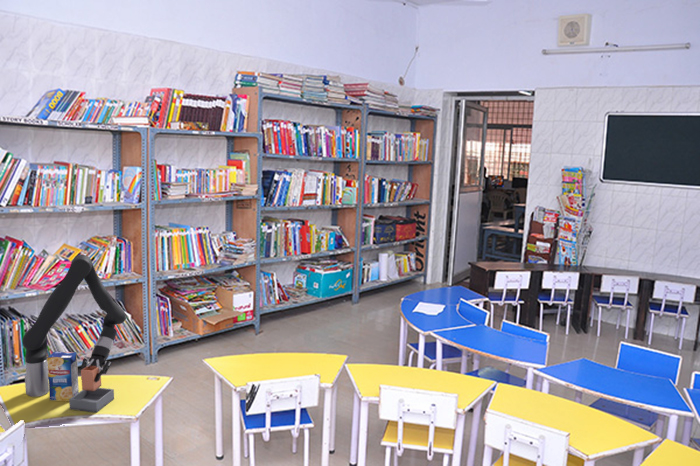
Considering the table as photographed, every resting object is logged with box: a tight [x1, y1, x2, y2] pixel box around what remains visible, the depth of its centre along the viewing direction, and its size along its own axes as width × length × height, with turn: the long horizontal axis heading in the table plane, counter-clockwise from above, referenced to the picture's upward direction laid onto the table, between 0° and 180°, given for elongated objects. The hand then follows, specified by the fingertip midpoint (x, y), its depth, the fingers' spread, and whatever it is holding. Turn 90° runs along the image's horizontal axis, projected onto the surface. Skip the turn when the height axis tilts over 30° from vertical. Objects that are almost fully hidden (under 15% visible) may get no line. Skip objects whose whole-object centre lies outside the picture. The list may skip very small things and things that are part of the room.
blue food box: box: [47, 351, 80, 402], centre depth 275 cm, size 7×11×22 cm, turn 92°
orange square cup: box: [80, 365, 102, 391], centre depth 269 cm, size 6×6×10 cm
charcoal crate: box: [68, 387, 115, 414], centre depth 271 cm, size 14×14×5 cm
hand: (89, 380), depth 267 cm, fingers closed on orange square cup, 6 cm apart
